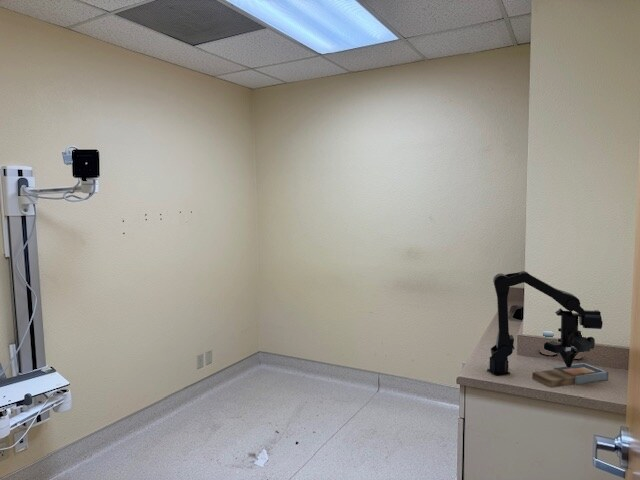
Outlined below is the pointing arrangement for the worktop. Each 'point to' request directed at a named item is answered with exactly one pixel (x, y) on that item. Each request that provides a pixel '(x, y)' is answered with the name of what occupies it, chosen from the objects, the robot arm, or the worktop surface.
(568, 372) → the tile
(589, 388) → the worktop surface
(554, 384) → the bench board
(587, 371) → the tile
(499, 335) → the robot arm
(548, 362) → the worktop surface
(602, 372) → the box
